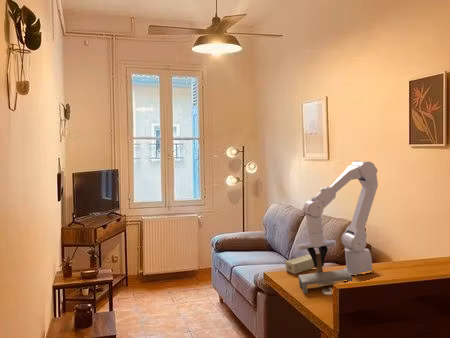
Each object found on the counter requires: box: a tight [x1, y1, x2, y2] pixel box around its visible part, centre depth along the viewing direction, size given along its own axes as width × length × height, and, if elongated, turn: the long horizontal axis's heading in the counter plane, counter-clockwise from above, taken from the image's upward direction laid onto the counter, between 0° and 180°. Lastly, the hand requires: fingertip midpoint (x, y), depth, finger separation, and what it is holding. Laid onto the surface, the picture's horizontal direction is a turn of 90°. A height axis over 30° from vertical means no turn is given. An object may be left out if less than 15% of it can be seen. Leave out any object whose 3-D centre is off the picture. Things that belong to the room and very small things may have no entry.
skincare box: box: [284, 254, 316, 275], centre depth 182 cm, size 6×4×12 cm
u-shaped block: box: [298, 268, 353, 294], centre depth 160 cm, size 18×8×4 cm, turn 90°
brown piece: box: [315, 251, 336, 287], centre depth 164 cm, size 6×12×10 cm, turn 1°
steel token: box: [321, 287, 333, 296], centre depth 154 cm, size 5×5×1 cm
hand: (319, 265), depth 168 cm, fingers closed on brown piece
